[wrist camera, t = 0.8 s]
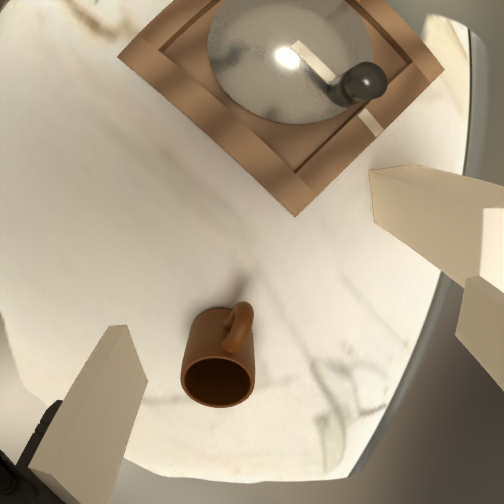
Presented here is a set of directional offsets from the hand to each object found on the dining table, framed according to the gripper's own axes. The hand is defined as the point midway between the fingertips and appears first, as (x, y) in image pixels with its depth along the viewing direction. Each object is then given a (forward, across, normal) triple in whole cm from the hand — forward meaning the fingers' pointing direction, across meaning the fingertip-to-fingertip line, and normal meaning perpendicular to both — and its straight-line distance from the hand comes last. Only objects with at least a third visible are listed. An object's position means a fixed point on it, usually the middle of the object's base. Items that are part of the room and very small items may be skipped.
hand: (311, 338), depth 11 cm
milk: (+24, +15, 0) cm, 28 cm away
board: (+24, +4, +16) cm, 29 cm away
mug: (+24, -6, -13) cm, 28 cm away
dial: (+22, +4, +16) cm, 27 cm away
